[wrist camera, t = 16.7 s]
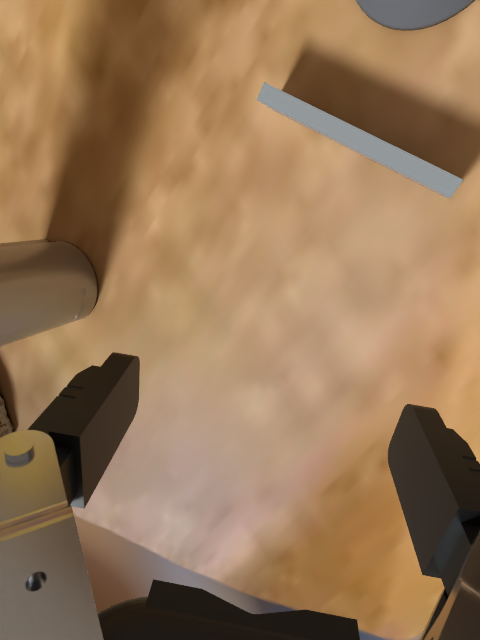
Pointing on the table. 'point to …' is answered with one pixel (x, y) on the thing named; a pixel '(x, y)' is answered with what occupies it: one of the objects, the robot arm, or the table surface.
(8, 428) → the rock
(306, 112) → the low wall
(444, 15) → the coaster
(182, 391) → the table surface
